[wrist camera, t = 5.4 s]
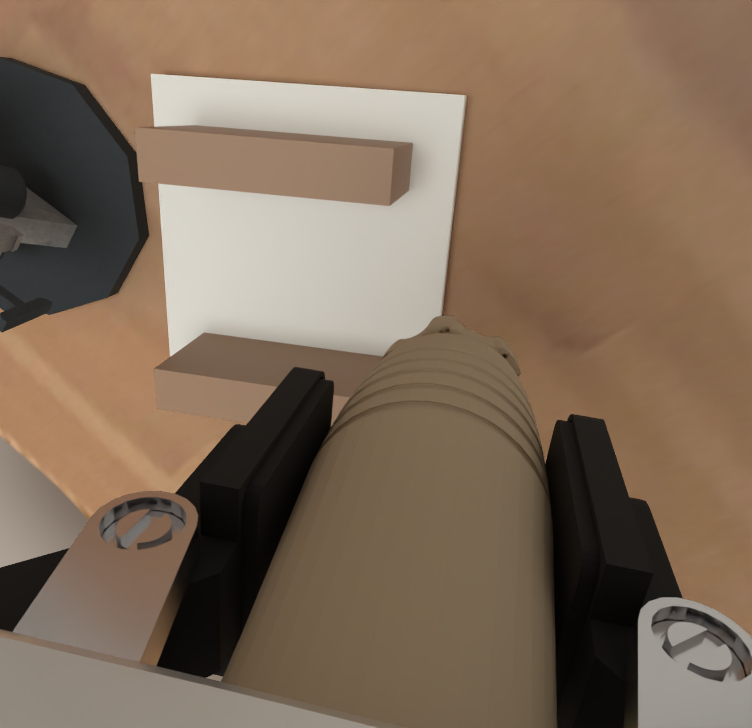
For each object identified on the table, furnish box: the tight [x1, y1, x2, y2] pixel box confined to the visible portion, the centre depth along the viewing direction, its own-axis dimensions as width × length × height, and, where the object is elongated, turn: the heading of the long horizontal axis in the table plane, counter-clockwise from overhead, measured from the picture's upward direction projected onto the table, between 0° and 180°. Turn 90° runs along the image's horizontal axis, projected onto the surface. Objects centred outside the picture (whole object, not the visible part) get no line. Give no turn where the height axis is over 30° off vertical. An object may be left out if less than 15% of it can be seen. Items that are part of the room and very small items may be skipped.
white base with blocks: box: [135, 74, 467, 427], centre depth 28 cm, size 16×14×6 cm
